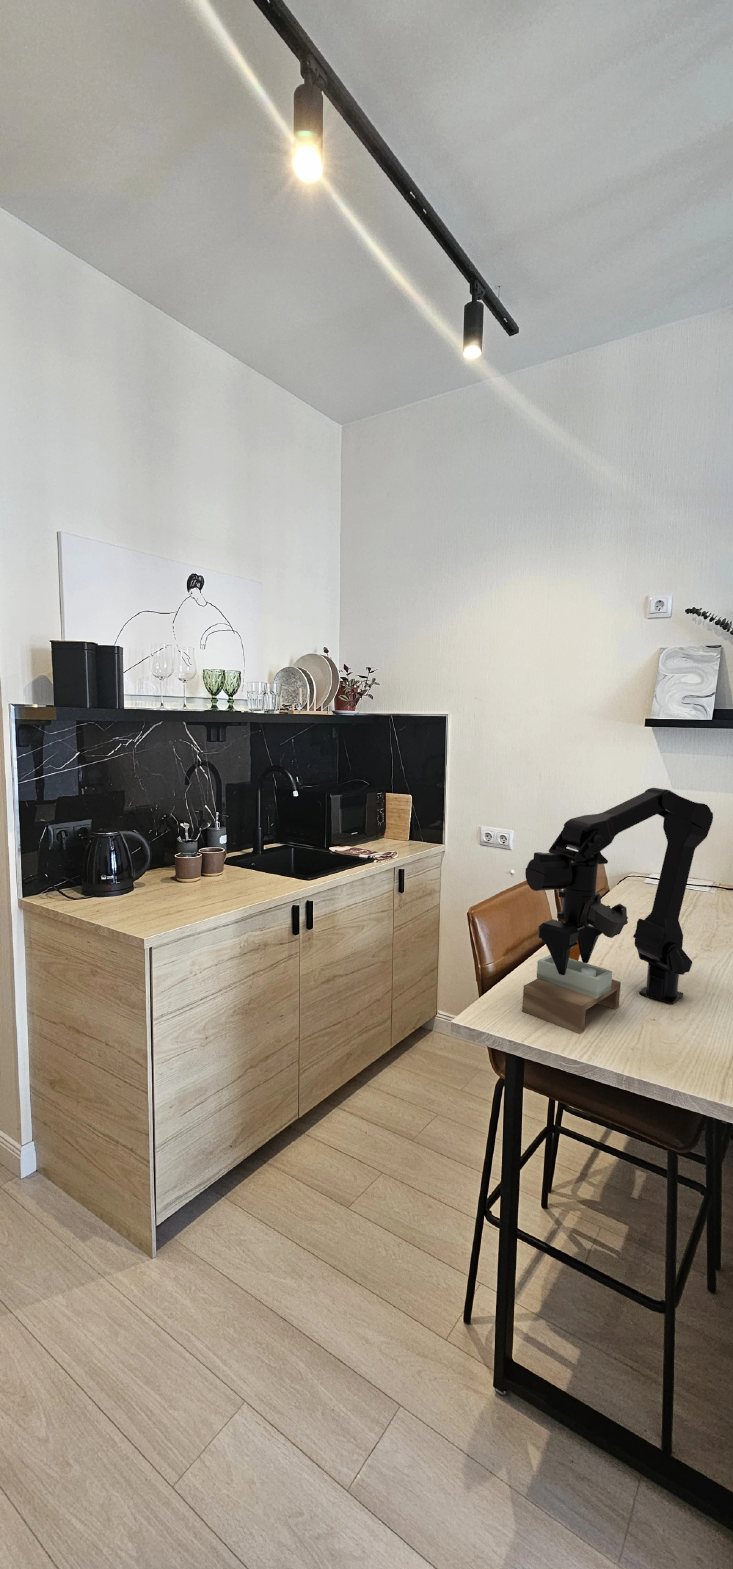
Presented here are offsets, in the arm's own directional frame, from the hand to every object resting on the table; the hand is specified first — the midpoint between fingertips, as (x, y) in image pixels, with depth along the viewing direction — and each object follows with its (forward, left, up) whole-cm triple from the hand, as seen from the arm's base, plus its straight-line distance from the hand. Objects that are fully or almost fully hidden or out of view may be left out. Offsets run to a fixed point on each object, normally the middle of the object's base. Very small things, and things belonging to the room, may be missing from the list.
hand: (573, 968), depth 124 cm
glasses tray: (0, 0, -3) cm, 3 cm away
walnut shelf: (0, 0, -8) cm, 8 cm away
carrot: (-16, -9, -8) cm, 20 cm away
